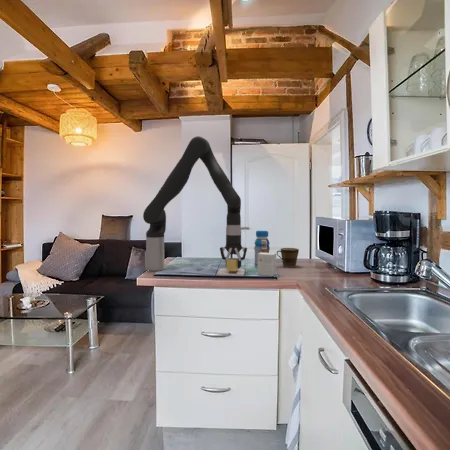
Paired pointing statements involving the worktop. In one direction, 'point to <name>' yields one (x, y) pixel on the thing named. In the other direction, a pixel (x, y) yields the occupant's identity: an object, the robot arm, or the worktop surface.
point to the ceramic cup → (289, 257)
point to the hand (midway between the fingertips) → (233, 267)
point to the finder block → (232, 264)
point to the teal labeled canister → (261, 244)
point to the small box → (266, 264)
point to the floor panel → (231, 272)
